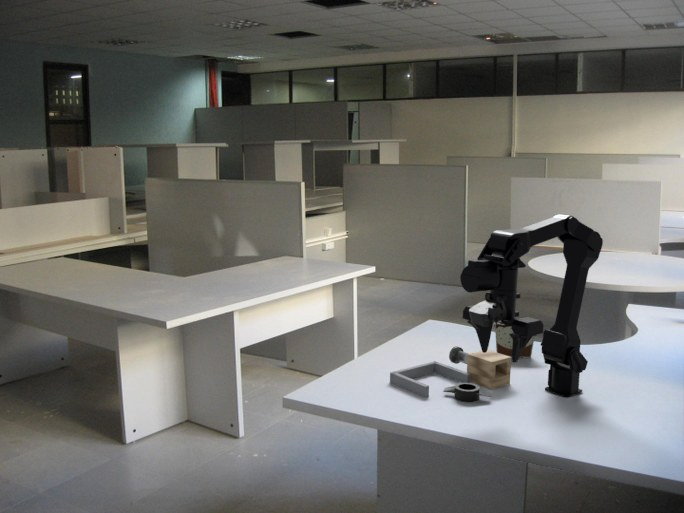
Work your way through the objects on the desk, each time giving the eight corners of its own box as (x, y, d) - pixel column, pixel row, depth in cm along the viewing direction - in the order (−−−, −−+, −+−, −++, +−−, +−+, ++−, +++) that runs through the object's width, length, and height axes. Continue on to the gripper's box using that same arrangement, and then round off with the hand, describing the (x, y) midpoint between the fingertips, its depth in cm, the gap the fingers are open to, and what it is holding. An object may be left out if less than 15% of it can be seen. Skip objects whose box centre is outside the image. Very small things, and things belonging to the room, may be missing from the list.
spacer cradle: (470, 383, 174) (470, 373, 173) (425, 396, 164) (425, 386, 164) (434, 370, 184) (435, 361, 183) (389, 382, 174) (390, 372, 174)
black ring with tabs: (468, 408, 158) (469, 396, 158) (440, 395, 167) (440, 383, 166) (493, 402, 162) (494, 390, 162) (464, 389, 171) (465, 377, 170)
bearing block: (509, 384, 174) (511, 357, 173) (490, 389, 170) (492, 362, 168) (485, 375, 180) (486, 349, 179) (466, 380, 176) (467, 354, 175)
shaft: (495, 373, 175) (496, 356, 175) (483, 376, 173) (484, 359, 172) (460, 361, 185) (461, 345, 184) (448, 364, 182) (449, 347, 181)
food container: (532, 351, 201) (534, 317, 199) (536, 358, 195) (538, 323, 193) (489, 349, 202) (490, 316, 200) (491, 356, 196) (493, 321, 194)
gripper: (446, 284, 156) (443, 352, 158) (512, 300, 141) (507, 374, 143) (481, 280, 162) (477, 345, 165) (547, 294, 147) (542, 366, 150)
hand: (499, 357), depth 155 cm, fingers open, 8 cm apart
